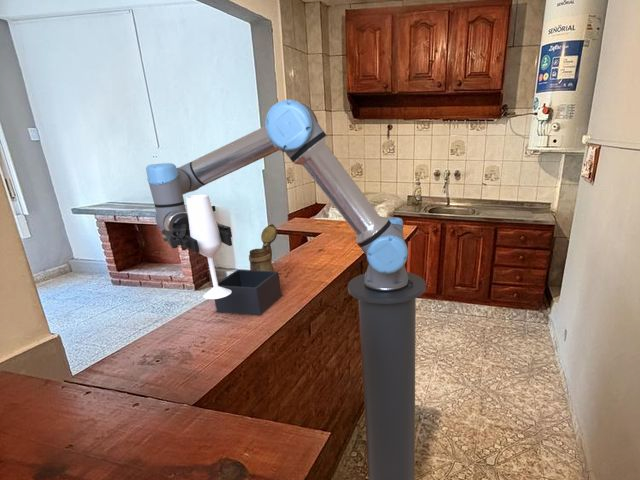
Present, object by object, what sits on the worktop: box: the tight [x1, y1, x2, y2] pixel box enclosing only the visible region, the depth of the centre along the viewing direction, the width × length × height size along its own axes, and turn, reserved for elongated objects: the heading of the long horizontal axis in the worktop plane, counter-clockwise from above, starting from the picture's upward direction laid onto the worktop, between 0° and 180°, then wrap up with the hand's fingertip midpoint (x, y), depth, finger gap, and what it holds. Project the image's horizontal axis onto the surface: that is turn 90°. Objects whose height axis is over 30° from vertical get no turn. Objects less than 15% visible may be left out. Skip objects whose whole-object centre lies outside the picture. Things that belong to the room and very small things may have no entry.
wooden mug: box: [248, 223, 278, 271], centre depth 133 cm, size 9×14×18 cm, turn 159°
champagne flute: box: [185, 194, 232, 300], centre depth 94 cm, size 7×7×24 cm
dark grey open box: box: [211, 269, 282, 316], centre depth 117 cm, size 14×14×8 cm
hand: (213, 243), depth 90 cm, fingers closed on champagne flute, 7 cm apart
